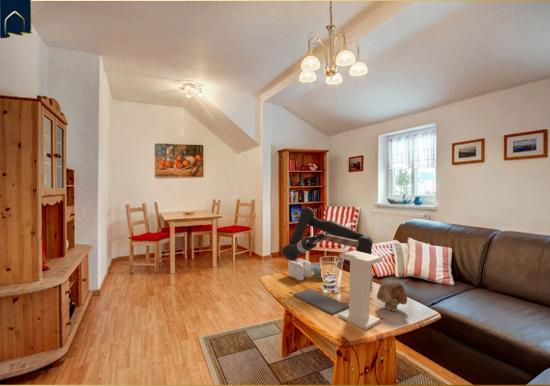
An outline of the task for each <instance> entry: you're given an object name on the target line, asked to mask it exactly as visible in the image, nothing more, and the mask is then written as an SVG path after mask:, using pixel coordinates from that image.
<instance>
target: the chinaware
mask: <svg viewBox="0 0 550 386" xmlns="http://www.w3.org/2000/svg"><path fill="white" fill-rule="evenodd" d="M320 263H321V262H311V265H312V267H311V273H313V275H315V277H316V278H321V269H320Z"/></svg>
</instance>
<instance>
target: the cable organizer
mask: <svg viewBox="0 0 550 386" xmlns="http://www.w3.org/2000/svg"><path fill="white" fill-rule="evenodd" d="M311 264H312V262H311V261H309V260H305V259H303V258H297V259H296V261H291V260H289V261H288V262H287V274H288V276H289V277H291V278H292V279H296V280H297V281H303V280H304V279H305V278H307V279H309V278H311V277H312V271H311V267H312V265H311ZM304 277H305V278H304Z"/></svg>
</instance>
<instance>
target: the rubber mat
mask: <svg viewBox="0 0 550 386" xmlns="http://www.w3.org/2000/svg"><path fill="white" fill-rule="evenodd" d="M292 296H293V297H295V298H297V299H299V300H301V301H303V302H306V303H307V304H309V305H311V306H313V307H315V308H318V309H320V310H321V311H324V312H325V313H328V314H330V315H331V316H333V315H336V314H339V313H341V312H343V311H346V310H348V309H349V304H347V303H344V302H342V301H339V300H337V299H335V298H332V297H330V296H328V295H326V294H324V293H321V292H318V291H316V290H314V289H311V288H308V289H304V290H301V291H299V292H296V293H293V294H292Z"/></svg>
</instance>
